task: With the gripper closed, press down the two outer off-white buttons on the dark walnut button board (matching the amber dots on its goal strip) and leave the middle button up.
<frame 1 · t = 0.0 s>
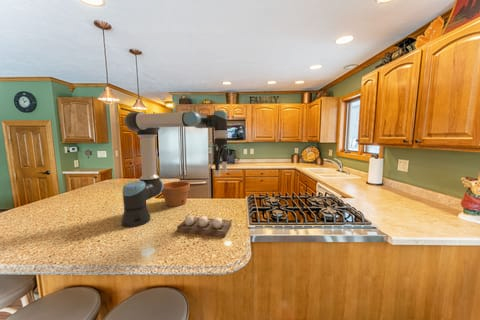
hand: (221, 173, 112), 28 cm above the countertop, fingers open, 13 cm apart
button B: (203, 221, 100), point 5 cm above the countertop, slide at 0.0 cm
flower pot: (176, 203, 145), on the countertop
button A: (189, 220, 102), point 5 cm above the countertop, slide at 0.0 cm
button C: (217, 222, 99), point 5 cm above the countertop, slide at 0.0 cm
board: (205, 228, 103), on the countertop
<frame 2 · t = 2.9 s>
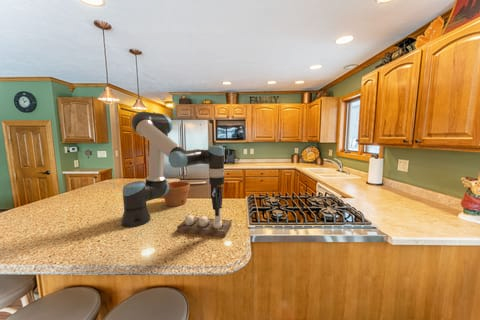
hand: (218, 220, 98), 6 cm above the countertop, fingers closed
button C: (217, 225, 99), point 4 cm above the countertop, slide at 1.2 cm, touching gripper
everything else where it was.
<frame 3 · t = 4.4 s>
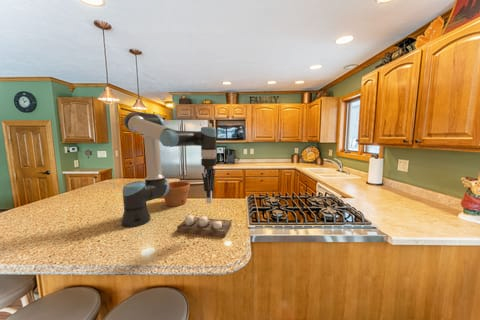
hand: (209, 202, 99), 16 cm above the countertop, fingers closed
button C: (217, 226, 99), point 3 cm above the countertop, slide at 1.9 cm
everything else where it was.
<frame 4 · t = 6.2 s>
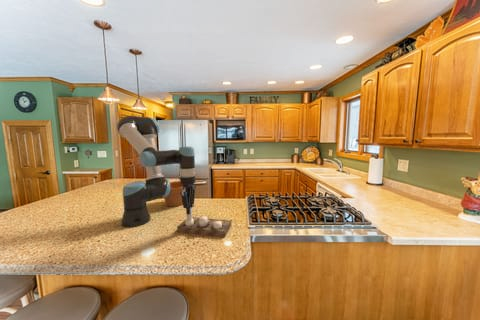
hand: (189, 219, 102), 6 cm above the countertop, fingers closed
button A: (189, 223, 102), point 4 cm above the countertop, slide at 1.7 cm, touching gripper
everything else where it was.
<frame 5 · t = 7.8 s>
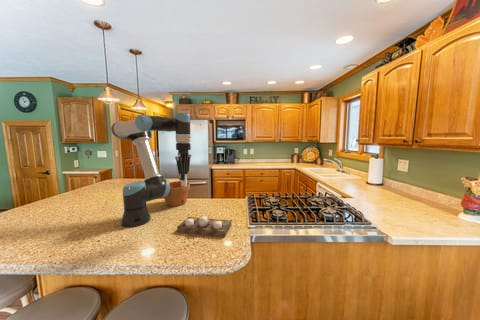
hand: (184, 185, 104), 23 cm above the countertop, fingers closed
button A: (189, 223, 102), point 3 cm above the countertop, slide at 2.0 cm
everything else where it was.
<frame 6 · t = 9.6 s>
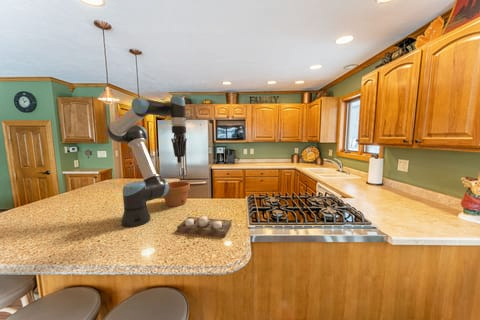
hand: (180, 168, 107), 32 cm above the countertop, fingers closed
nothing on the countertop moved.
at the end: button A slide at 2.0 cm; button C slide at 1.9 cm; button B slide at 0.0 cm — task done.
